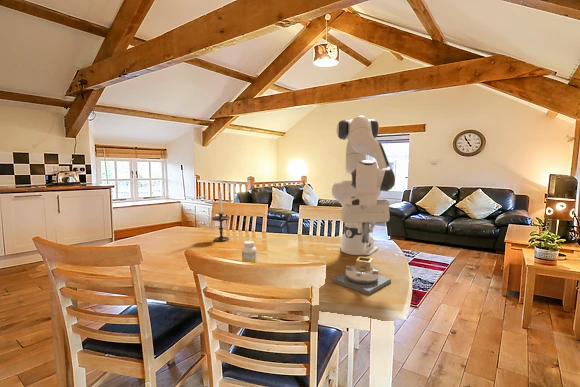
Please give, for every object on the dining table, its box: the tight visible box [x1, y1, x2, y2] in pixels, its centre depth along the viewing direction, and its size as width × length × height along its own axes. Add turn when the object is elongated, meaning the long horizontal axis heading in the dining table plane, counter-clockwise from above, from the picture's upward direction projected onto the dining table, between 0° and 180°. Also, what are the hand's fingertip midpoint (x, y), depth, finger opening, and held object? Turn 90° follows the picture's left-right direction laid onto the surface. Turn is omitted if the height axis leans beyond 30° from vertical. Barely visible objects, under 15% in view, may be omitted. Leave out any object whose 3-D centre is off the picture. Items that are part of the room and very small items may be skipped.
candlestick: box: [211, 185, 231, 243], centre depth 188 cm, size 11×11×35 cm
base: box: [331, 272, 392, 296], centre depth 124 cm, size 17×17×4 cm
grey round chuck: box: [345, 255, 380, 284], centre depth 124 cm, size 14×13×6 cm
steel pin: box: [361, 222, 370, 243], centre depth 126 cm, size 3×3×9 cm
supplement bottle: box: [241, 240, 258, 264], centre depth 138 cm, size 7×7×13 cm
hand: (365, 232), depth 126 cm, fingers closed on steel pin, 3 cm apart
